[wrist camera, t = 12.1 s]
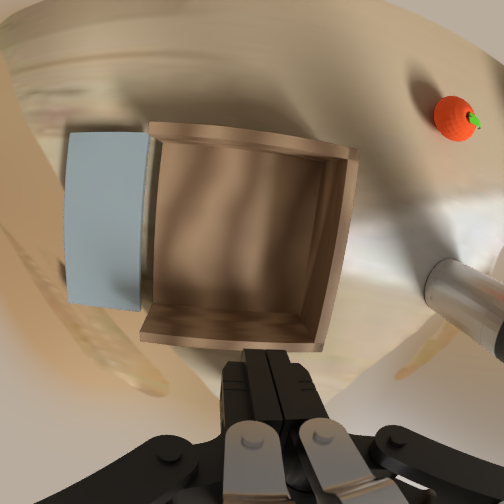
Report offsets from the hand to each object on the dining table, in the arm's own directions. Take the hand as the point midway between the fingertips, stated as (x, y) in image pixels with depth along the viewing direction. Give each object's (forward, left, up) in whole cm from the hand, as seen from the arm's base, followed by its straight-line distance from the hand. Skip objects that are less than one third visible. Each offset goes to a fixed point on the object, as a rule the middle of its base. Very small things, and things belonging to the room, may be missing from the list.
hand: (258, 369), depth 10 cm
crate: (-1, 0, -27) cm, 27 cm away
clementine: (-30, -21, -27) cm, 46 cm away
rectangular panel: (+10, 0, -26) cm, 28 cm away
